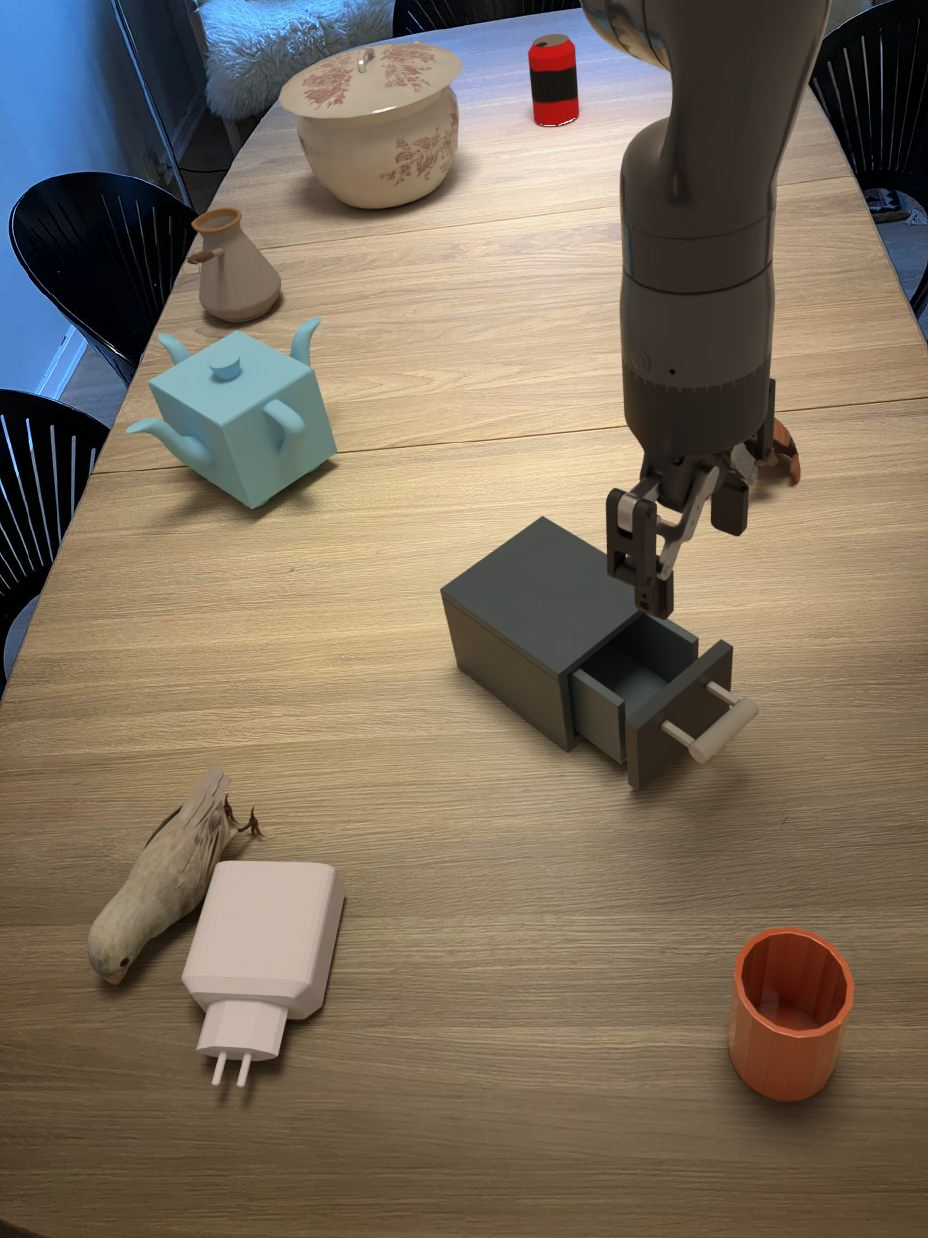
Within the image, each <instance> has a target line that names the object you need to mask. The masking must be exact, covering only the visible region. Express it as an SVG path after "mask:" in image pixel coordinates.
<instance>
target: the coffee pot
mask: <svg viewBox="0 0 928 1238" xmlns="http://www.w3.org/2000/svg"><path fill="white" fill-rule="evenodd" d="M242 215H243V214H242V213H241V211H240V210H239V209H237V208H234V207H220V208H215V209H212V210H209V211H206V212H205V213H202V214H201V215H199V216H198V217H196V218H195V219H194V220H193V221H192V222H191V223H190V224H191V227H192V228H193V229H194V231H196V232H197V233H199V235H200V236H201V238H202V251H199V252H197V253H193V254H191V255H190V256H189V257H188V258H187V260H186V261H184V262H183V263H182V264H181V271H182V273H183V274H184V275H185V276H188V277H195V276H197V275H199V274H200V278H199V290H198V301H199V303H200V305H201V306H202V308H203V309H204V310H205V311H207V312H208V313H209V314H210V315H212V316H214V317H216V318H219V319H221V320H223V321H225V322H227V323H244V322H249V321H251V320H255V319H259V318H260V317H262V316H264V315H265V314H267V313H268V312H269V311H270V310H271V309H272V308H273V305H274V303H276V301H277V299H278V297H279V295H280V293H281V290H282V289H281V288H282V277H281V276H280V274H279V272H278V271H277V270H276V269H275V268H274V266H273V265H272V263H270V262H269V260H268V259H267V258H266V257H265V256H264V255H263V253H262V252H261V251H260V250H259V248H258V247H257V246H256V245H255V244H254V242H253V241H252V240H251V239H250V238H249V236H248V235H247V234H246V233H245V232H244V230H243V229H242V228H241V220H242V217H243V216H242ZM186 263H187V264H189V265H195V266H198V271H197V272H196V273H195V274H193V275H192V274H188V273H185V271H184V265H185V264H186Z"/></svg>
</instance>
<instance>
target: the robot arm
mask: <svg viewBox="0 0 928 1238" xmlns="http://www.w3.org/2000/svg"><path fill="white" fill-rule="evenodd" d="M832 2H833V0H579V3H580V5H581V8H582V11H583V14H584V17H585V18H586V20H587V22H588V24H589V25H590V27H591V28H592V29H593V30H594V32H595V33H596V34H597V35H598V36H599V37H600V38H601V39H602V40H603V41H604V42H605V43H607V44H608V45H609V46H611V47H612V48H614V49H615V50H617V51H618V52H621V53H623V54H625V55H627V56H629V57H632V58H633V59H634V58H635V59H636V60H639V61H641V62H644V63H646V64H649V65H651V66H654V67H656V68H658V69H661V70H664V71H666V72H669V73H670V81H671V106H670V112H669V116H667V117H664V118H661V119H659V120H656V121H654V122H652V123H650V124H648V125H647V126H645V127H644V128H643V129H641V130H640V131H639V132H637V133H636V134H635V136H634V137H632V139H631V140H630V142H629V143H628V145H627V146H626V149H625V151H624V153H623V155H622V159H621V165H620V166H621V167H620V170H619V187H618V188H619V189H618V190H619V191H618V193H619V195H618V196H619V198H618V199H619V213H620V233H621V258H622V263H621V264H622V265H621V266H622V267H621V269H622V270H621V283H620V292H619V304H618V305H619V309H618V310H619V311H618V313H619V331H620V355H621V371H622V372H621V377H622V378H621V379H622V395H623V414H624V420H625V423H626V425H627V427H628V429H629V430H630V432H631V433H632V435H633V436H634V438H635V439H636V440H637V442H638V443H639V445H640V447H641V449H642V450H643V457H642V462H641V466H640V471H639V478H638V479H639V482H638V483H637V484H636V485H634V486H633V488H631V489H630V490H629V491H625V490H623V489H621V488H618V487H613V488H612V489H611V490H610V491H609V492H608V495H607V496H606V499H605V526H606V527H605V533H606V534H605V535H606V540H605V541H606V554H607V574H608V576H610V577H613V578H615V579H617V580H619V581H622V582H624V583H626V584H629V585H631V586H633V587H634V593H635V594H634V595H635V606H636V608H637V609H638V610H641V611H643V612H645V613H647V614H650V615H652V616H654V617H656V618H659V619H662V620H666V619H667V618H668V619H669V617H670V616H671V615H672V614H673V613H674V612H675V611H674V610H675V577H674V575H675V574H674V573H675V572H674V567H675V564H676V560H677V557H678V554H679V551H680V549H681V547H682V544H683V543H688V542H691V540H692V539H693V538H694V534H695V531H696V528H697V525H698V522H699V519H700V517H701V514H702V511H703V509H704V505H705V503H706V502H707V500H708V499H709V498H710V524H711V526H712V528H714V529H716V530H718V531H720V532H723V533H726V534H727V535H730V536H733V537H740V536H741V535H742V534H743V533H744V532H745V531H746V530H747V528H748V518H749V517H748V516H749V502H750V487H752V485H754V483H755V482H756V480H757V478H758V472H759V469H758V467H756V464H757V462H758V461H759V460H760V461H763V462H766V461H767V460H768V459H769V458H770V456H771V454H772V450H773V437H774V417H775V413H776V412H775V409H776V388H777V387H776V386H777V381H776V379H775V378H772V377H770V376H771V365H772V353H773V352H772V351H773V336H774V324H775V323H774V322H775V310H776V309H775V308H776V307H775V306H776V287H775V278H774V277H775V275H774V246H775V231H776V229H775V228H776V216H777V215H776V214H777V203H778V202H777V201H778V199H777V198H778V175H779V170H780V168H781V164H782V161H783V158H784V155H785V153H786V150H787V147H788V145H789V142H790V140H791V137H792V134H793V131H794V128H795V125H796V123H797V119H798V116H799V112H800V109H801V107H802V103H803V100H804V97H805V94H806V92H807V88H808V85H809V82H810V80H811V76H812V73H813V70H814V68H815V64H816V62H817V58H818V56H819V52H820V50H821V47H822V43H823V41H824V38H825V37H824V36H825V35H826V34H825V33H826V30H827V26H828V22H829V18H830V15H831V14H830V13H831V8H832ZM755 433H756V434H757V439H756V438H753V437H751V436H752V435H753V434H755ZM657 503H658V504H659V505H660V506H662V507H663V508H666V509H669V510H671V511H674V512H676V513H679V514H681V516H680V520H679V521H678V523H675V522H672V521H669V520H666V519H663V518H662V517H661V515H660V514H658V504H657ZM657 535H658V536H660V537H662V538H663V539H664V543H663V547H662V549H661V552H660V554H659V555H658V554H657V538H658V537H657Z"/></svg>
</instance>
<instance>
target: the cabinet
mask: <svg viewBox="0 0 928 1238" xmlns="http://www.w3.org/2000/svg"><path fill="white" fill-rule="evenodd" d="M439 591H440V596H441V601H442V606H443V608H444V614H445V618H446V623H447V627H448V631H449V632H448V633H449V635H450V640H451V644H452V648H453V654H454V658H455V662H456V666H457V668H458V669H460V670H461V671H462V672H464V673H465V674H466V675H467V676H468V677H470V678H471V679H472V680H473V681H475V682H476V683H478V684H479V685H480V686H482V687H483V689H485V690H487V691H488V692H489V693H491V694H492V695H493V696H494V697H496V698H497V699H498V700H499V701H501V702H502V703H503V704H504V705H506V706H507V707H509V708H510V709H511V710H512V711H514V712H515V713H516V714H518V715H519V716H520V717H521V718H522V719H524V720H525V721H527V722H528V723H529V724H530V725H532V726H533V727H534V728H535V729H537V730H538V731H539V732H541V733H542V734H543V735H544V736H545V737H547V738H548V739H549V740H551V741H552V742H553V743H555V744H556V745H557V746H558V747H560V748H561V749H562V750H563V751H565V752H566V753H569V752H571V751H572V750H573V749H574V748H576V746H578V745H579V744H580V743H581V742H582V741H583V740H584V739H586V738H585V737H584V736H583V735H581V734H580V733H579V732H577V731H576V730H575V729H573V723H572V714H571V705H570V696H569V688H568V679H567V675H568V674H569V673H571V672H572V671H573V670H574V669H575V668H577V667H578V666H579V665H580V664H582V663H583V662H584V661H585V660H587V659H588V658H589V657H590V656H592V655H593V654H594V653H595V652H597V651H598V650H599V649H600V648H601V647H603V646H604V645H605V644H606V643H608V642H609V641H610V640H611V639H613V638H614V637H615V636H616V635H618V634H619V633H620V632H621V631H623V630H624V629H625V628H626V627H628V626H629V625H630V624H631V623H632V622H634V621H635V620H636V619H637V618H639V617H640V616H641V615H642V614H644V613H645V612H643V611H641V610H638V609H637V608H636V606H635V595H634V594H635V593H634V587H633V586H631V585H629V584H626V583H624V582H622V581H619V580H617V579H615V578H613V577H610V576H608V574H607V552H603V551H602V550H601V549H598V547H596V546H594V545H592V544H590V543H589V542H587V541H585V540H584V539H582V538H581V537H579V536H577V535H575V534H574V533H572V532H571V531H569V530H567V529H566V528H564V527H562V526H561V525H559V524H557V523H555V522H554V521H552V520H550V519H549V518H548V517H546V516H543V515H541V516H540V517H538V518H537V519H536V520H534V521H532V522H531V523H530V524H529V525H527V526H526V527H524V528H523V529H522V530H520V531H518V532H517V533H516V534H514V535H513V536H512V537H510V538H509V539H508V540H507V541H505V542H504V543H502V544H501V545H500V546H498V547H497V548H495V549H493V550H492V551H491V552H490V553H488V554H487V555H485V556H484V557H483V558H481V559H479V561H477V562H475V563H474V564H473V565H472V566H470V567H469V568H467V569H466V570H465V571H463V572H462V573H460V574H459V575H458V576H456V577H454V579H452V580H450V581H449V582H448V583H446V584H445V585H443V586H441V588H439Z"/></svg>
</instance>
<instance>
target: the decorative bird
mask: <svg viewBox="0 0 928 1238" xmlns="http://www.w3.org/2000/svg"><path fill="white" fill-rule="evenodd" d="M231 782H232V778H231V777H230V776H229V775H228V774H226V773H225V770H224V768H223V767H221V766H220V765H216V766H214V767H209V768H208V769H207V770H206V772H205V773H204V775H203V777H202V778H201V779H199V780H198V781H197V783H196V785H195V786H194V788H192V790H191V791H190V793H189V794H188V797H187V798H186V800H185V801H184V802H183V803H181V804H180V805H179V806H177V808H175V809H174V810H173V811H171V812H170V813H169V814H168V815H166V817H165V818H163V819H162V820H161V821H160V823H159V824H158V825H157V826H156V827H155V828H154V829H153V831H152V832H151V833H150V835H149V837H148V838H147V840H146V841H145V843H144V845H143V846H142V849H141V850H140V853H139V854H138V856H137V858H136V860H135V863H134V864H133V866H132V868H131V870H130V872H129V875H128V877H127V880H126V881H125V883H124V884H123V885H122V886H121V888H120V889H119V890H118V892H117V893H116V894H115V895H114V896H113V898H112V899H110V901H109V902H108V903H107V904H106V906H105V907H104V908H103V909H102V910H101V912H99V914H98V916H97V917H96V918H95V919H94V921H93V922H92V925H91V927H90V930H89V931H88V935H87V939H86V950H87V956H88V957H87V958H88V961H89V964H90V966H91V968H92V970H93V971H94V972H95V973H96V974H98V975H99V976H100V977H102V978H103V979H104V980H106V981H107V982H108V983H109V984H112V985H118V984H120V983H121V981H122V980H123V979H124V978H125V976H126V974H127V972H128V970H129V968H130V966H131V965H132V964H133V962H134V961H135V960H136V959H137V957H138V956H139V954H140V953H141V951H142V950H143V948H144V946H146V944H147V943H148V941H150V940H151V939H155V938H156V937H158V936H159V935H160V934H161V933H163V932H165V931H166V930H167V929H168V928H169V927H170V926H172V925H174V924H175V923H177V921H179V920H180V919H182V918H184V917H186V916H187V915H188V914H190V913H191V912H193V911H194V910H195V909H196V908H197V907H198V906H199V905H200V903H201V902H202V900H203V898H204V897H206V895H207V892H208V889H209V886H210V883H211V879H212V876H213V873H214V870H215V866H216V864H217V863H219V862H220V860H221V855H222V853H223V851H224V849H225V848H226V846H227V845H228V844H229V842H230V841H231V840H232V839H233V838H235V837H236V836H237V835H238V833H243V832H245V831H247V830H248V829H249V828H250V832H251V834H252V836H253V837H256V835H255V832H256V833H257V834H258V835H259V836H261V837H263V838H266V836H265V835H264V834H262V832H261V829H260V827H259V820H258V818H256V816H255V814H254V811H255V805H253V806H252V808H251V810H250V818H249V820H248V823H246V824H245V826H243V827H239V828H237V827H236V828H232V829H230V821H229V819H230V820H231V821H233V822H234V823H235V824H237V825H240V823H239V822H238V821H237V820H236V819H235V817H234V815H233V808H232V806H231V804H229V801H228V797H229V792H227V793H226V794H225V792H226V791H227V789H228V788H229V786H230V785H231ZM224 796H225V797H224ZM223 798H224V803H223Z"/></svg>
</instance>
